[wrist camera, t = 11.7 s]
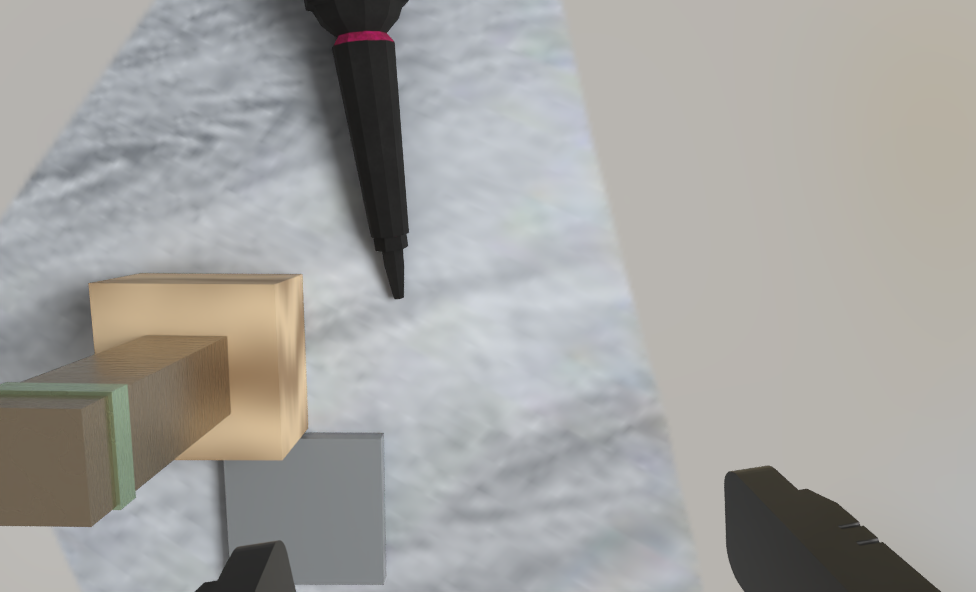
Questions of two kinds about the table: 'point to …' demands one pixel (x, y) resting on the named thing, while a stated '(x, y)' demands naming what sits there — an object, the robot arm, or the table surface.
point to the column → (106, 426)
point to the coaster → (315, 507)
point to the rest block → (251, 348)
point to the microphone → (372, 116)
